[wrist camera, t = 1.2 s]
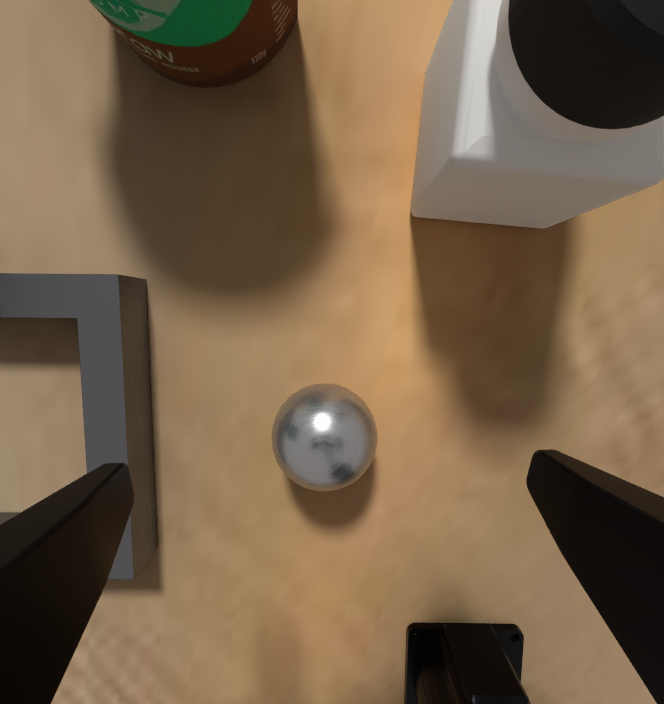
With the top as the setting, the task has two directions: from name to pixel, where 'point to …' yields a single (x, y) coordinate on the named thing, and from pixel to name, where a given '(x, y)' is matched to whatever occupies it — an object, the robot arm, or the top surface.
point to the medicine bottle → (540, 110)
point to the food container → (203, 35)
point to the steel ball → (324, 437)
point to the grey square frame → (105, 383)
